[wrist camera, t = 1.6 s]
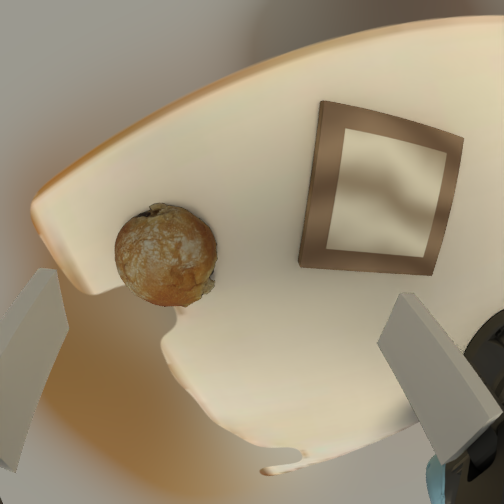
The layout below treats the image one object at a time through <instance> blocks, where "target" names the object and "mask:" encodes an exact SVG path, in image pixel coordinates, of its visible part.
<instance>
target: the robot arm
mask: <svg viewBox="0 0 504 504" xmlns="http://www.w3.org/2000/svg"><path fill="white" fill-rule="evenodd" d="M68 330H69V326H68V322H67V318H66V315H65V309H64V305H63V301H62V296H61V291H60V286H59V281H58V275H57V270H53V269H45V268H39V269H38V270H37V272H36V273H35V274H34V275H33V277H32V278H31V279H30V281H29V282H28V283H27V285H26V286H25V287H24V288H23V290H22V291H21V293H20V294H19V295H18V296H17V298H16V299H15V301H14V302H13V303H12V305H11V306H10V308H9V309H8V310H7V312H6V313H5V315H4V316H3V318H2V319H1V321H0V467H2V468H4V469H7V470H9V471H12V472H14V473H16V470H17V466H18V463H19V459H20V455H21V452H22V449H23V446H24V442H25V439H26V436H27V433H28V430H29V427H30V424H31V421H32V418H33V415H34V412H35V410H36V407H37V404H38V401H39V399H40V396H41V393H42V391H43V388H44V386H45V383H46V381H47V378H48V376H49V373H50V371H51V368H52V366H53V364H54V361H55V359H56V357H57V354H58V352H59V350H60V347H61V345H62V343H63V341H64V338H65V337H66V334H67V332H68ZM377 344H378V346H379V348H380V350H381V351H382V353H383V355H384V357H385V358H386V360H387V362H388V364H389V366H390V367H391V369H392V371H393V373H394V375H395V376H396V378H397V380H398V382H399V384H400V386H401V387H402V389H403V391H404V393H405V395H406V397H407V399H408V400H409V402H410V404H411V406H412V408H413V410H414V412H415V414H416V416H417V418H418V419H419V421H420V423H421V425H422V427H423V429H424V431H425V433H426V435H427V437H428V439H429V441H430V443H431V445H432V447H433V449H434V451H435V453H436V455H434V456H433V457H432V458H431V459H430V461H429V462H428V465H427V468H426V483H427V489H428V494H429V497H430V501H431V504H504V310H503V311H501V312H499V313H498V314H496V315H495V316H494V317H492V318H491V319H490V320H489V321H488V322H487V323H486V324H485V325H484V326H483V327H482V328H481V329H480V330H479V332H478V333H477V334H476V335H475V337H474V338H473V340H472V341H471V343H470V344H469V346H468V348H467V350H466V352H465V354H464V355H463V354H462V353H461V351H460V350H459V349H458V347H457V346H456V345H455V343H454V342H453V341H452V340H451V338H450V337H449V336H448V334H447V333H446V332H445V331H444V329H443V328H442V327H441V326H440V324H439V323H438V322H437V321H436V319H435V318H434V317H433V316H432V314H431V313H430V312H429V311H428V310H427V308H426V307H425V306H424V305H423V304H422V302H421V301H420V300H419V299H418V298H417V296H416V295H415V294H414V293H400V294H399V296H398V298H397V301H396V303H395V305H394V308H393V310H392V312H391V314H390V316H389V319H388V321H387V323H386V325H385V327H384V329H383V332H382V334H381V336H380V338H379V340H378V342H377ZM0 504H3V503H2V500H1V498H0Z"/></svg>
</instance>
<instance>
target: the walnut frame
mask: <svg viewBox="0 0 504 504" xmlns="http://www.w3.org/2000/svg"><path fill="white" fill-rule="evenodd" d="M463 142H464V138H462V137H459V136H457V135H454V134H451V133H448V132H445V131H442V130H439V129H436V128H433V127H430V126H427V125H424V124H420V123H417V122H414V121H410V120H407V119H403V118H400V117H396V116H392V115H388V114H384V113H380V112H376V111H372V110H368V109H364V108H359V107H355V106H350V105H345V104H340V103H335V102H330V101H321V102H320V110H319V119H318V127H317V135H316V143H315V151H314V158H313V166H312V173H311V180H310V187H309V194H308V201H307V207H306V214H305V220H304V227H303V233H302V239H301V245H300V251H299V257H298V263H299V265H300V267H303V268H317V269H332V270H347V271H362V272H378V273H394V274H410V275H427V276H432V274H433V271H434V268H435V264H436V261H437V258H438V255H439V251H440V248H441V245H442V241H443V237H444V234H445V230H446V226H447V222H448V218H449V214H450V210H451V206H452V202H453V197H454V193H455V188H456V183H457V178H458V173H459V167H460V161H461V155H462V149H463Z"/></svg>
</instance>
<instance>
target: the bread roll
mask: <svg viewBox="0 0 504 504" xmlns="http://www.w3.org/2000/svg"><path fill="white" fill-rule="evenodd" d="M149 207H150V209H151V210H149V211H147V212H144V213H142V214H140V215H138V216H137V217H134V218H132V219H131V220H130V221H128V222H127V223H126V224H125V225H124V226H123V227H122V229H121V230H120V232H119V234H118V236H117V239H116V242H115V261H116V266H117V270H118V273H119V275H120V277H121V279H122V280H123V282H124V283H125V285H126V286H127V287H128V288H129V289H130V290H131V291H132V292H133V293H134V294H135V295H136V296H138V297H140V298H142V299H144V300H146V301H148V302H150V303H152V304H155V305H159V306H164V307H165V306H183V307H187V306H188V305H190V304H192V303H193V302H195V301H198V300H199V299H201V297H202V295H203V294H208V293H209V292H210V291H211V290H212V288H214V283H215V280H214V281H213V280H211V279H210V277H209V276H210V275H211V274H212V273H213V272H214V267H215V262H216V261H217V251H216V245H217V244H216V242H215V239H214V236H213V234H212V232H211V230H210V228H209V227H208V226H207V225H206V224H205V223H204V222H203V221H201V219H200V218H197V217H196V216H194V215H193V214H192V213H190V212H189V211H187V210H186V209H184V208H182V207H174V206H170V205H168V206H166V204H164V203H157V204H153V205H151V206H149Z"/></svg>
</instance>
